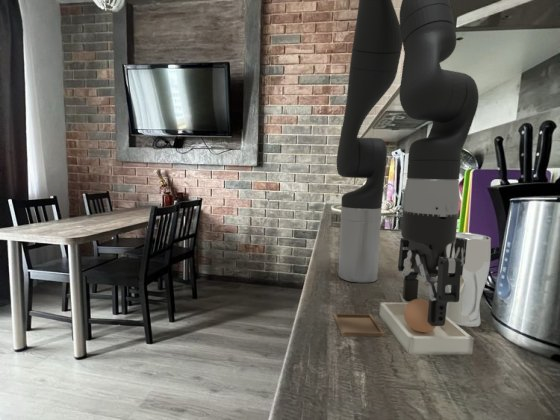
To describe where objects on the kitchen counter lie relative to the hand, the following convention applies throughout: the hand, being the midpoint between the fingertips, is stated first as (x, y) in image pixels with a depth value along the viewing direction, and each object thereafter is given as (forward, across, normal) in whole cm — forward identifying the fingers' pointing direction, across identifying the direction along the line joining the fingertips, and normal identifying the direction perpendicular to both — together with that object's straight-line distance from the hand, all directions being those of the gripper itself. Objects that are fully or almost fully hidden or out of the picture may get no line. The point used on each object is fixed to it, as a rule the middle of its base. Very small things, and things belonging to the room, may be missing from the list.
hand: (421, 311), depth 49 cm
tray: (+4, 0, 0) cm, 4 cm away
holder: (+4, -2, -10) cm, 10 cm away
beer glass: (+4, -5, +10) cm, 11 cm away
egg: (+3, 0, 0) cm, 3 cm away
